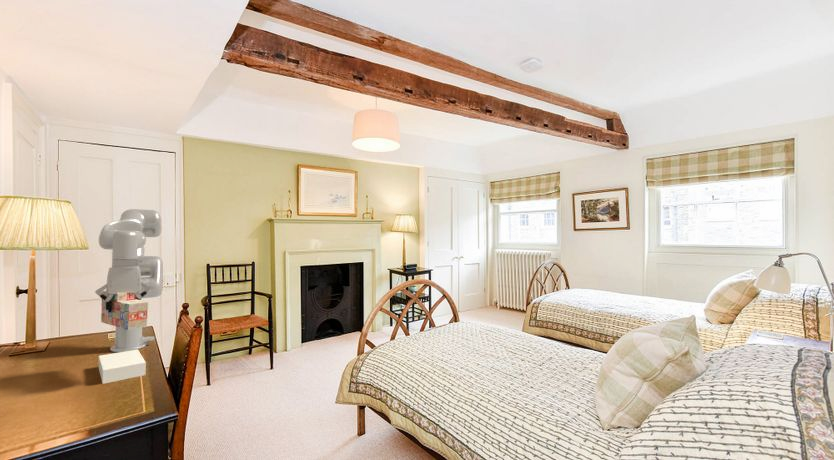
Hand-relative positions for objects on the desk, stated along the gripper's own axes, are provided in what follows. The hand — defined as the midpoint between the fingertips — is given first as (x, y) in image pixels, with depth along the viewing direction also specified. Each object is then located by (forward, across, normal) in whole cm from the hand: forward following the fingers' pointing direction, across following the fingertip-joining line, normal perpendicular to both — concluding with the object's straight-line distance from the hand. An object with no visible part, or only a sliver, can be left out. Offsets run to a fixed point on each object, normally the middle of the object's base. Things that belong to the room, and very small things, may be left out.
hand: (123, 310), depth 137 cm
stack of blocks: (+5, 0, 0) cm, 5 cm away
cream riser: (+23, 0, 0) cm, 23 cm away
